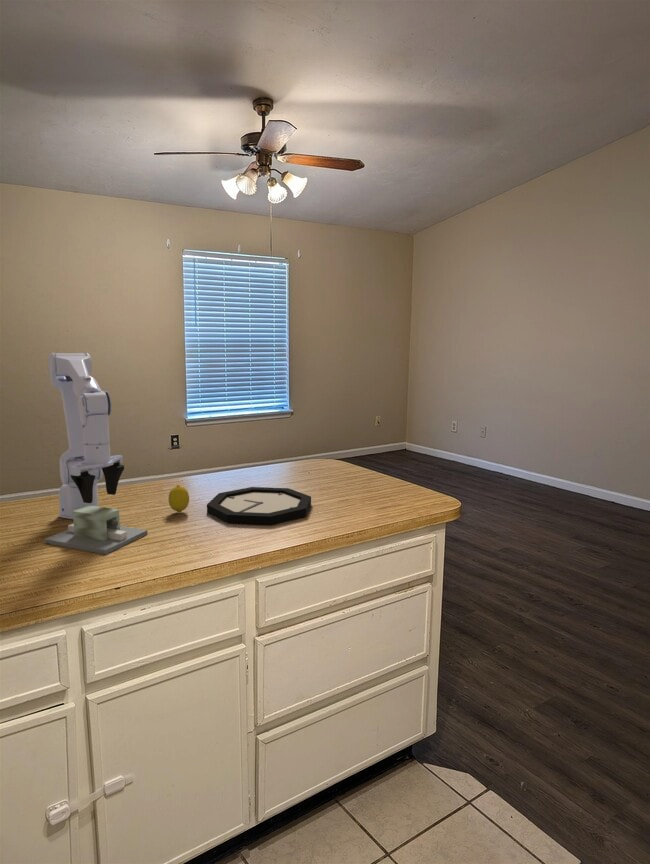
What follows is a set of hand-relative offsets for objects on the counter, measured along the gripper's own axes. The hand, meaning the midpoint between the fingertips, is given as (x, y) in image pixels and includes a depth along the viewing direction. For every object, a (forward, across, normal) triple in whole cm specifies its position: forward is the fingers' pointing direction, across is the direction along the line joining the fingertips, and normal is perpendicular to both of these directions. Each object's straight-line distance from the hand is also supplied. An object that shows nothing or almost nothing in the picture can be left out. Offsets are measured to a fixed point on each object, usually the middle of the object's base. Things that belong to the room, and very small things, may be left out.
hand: (99, 498), depth 128 cm
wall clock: (+10, +34, -25) cm, 44 cm away
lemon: (+10, +22, -6) cm, 25 cm away
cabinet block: (+8, -2, -1) cm, 9 cm away
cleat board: (+9, -2, -1) cm, 10 cm away
